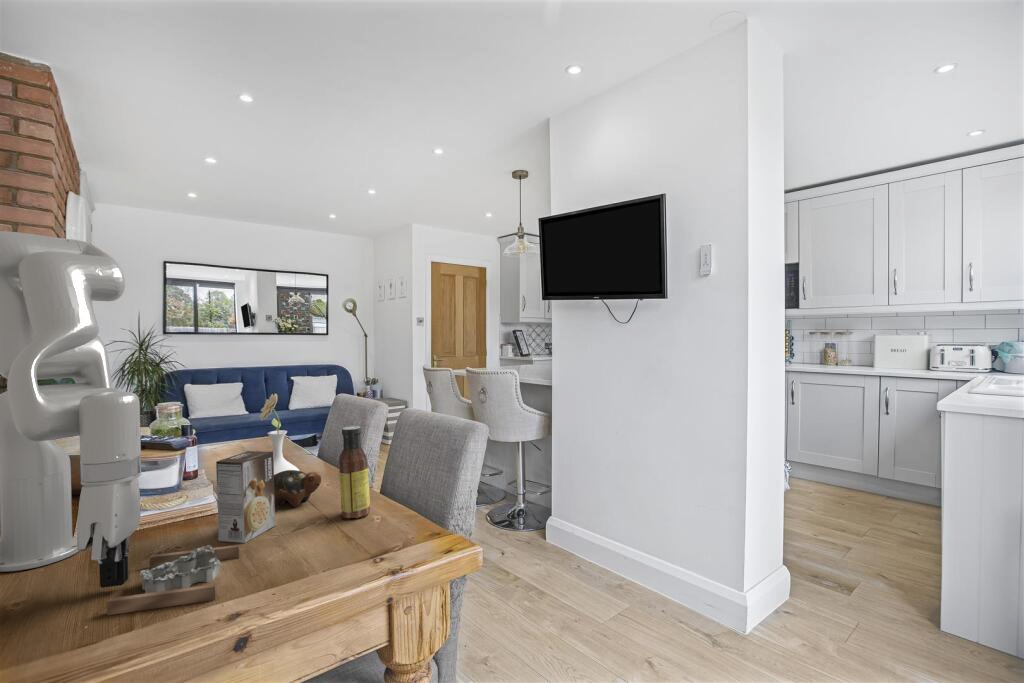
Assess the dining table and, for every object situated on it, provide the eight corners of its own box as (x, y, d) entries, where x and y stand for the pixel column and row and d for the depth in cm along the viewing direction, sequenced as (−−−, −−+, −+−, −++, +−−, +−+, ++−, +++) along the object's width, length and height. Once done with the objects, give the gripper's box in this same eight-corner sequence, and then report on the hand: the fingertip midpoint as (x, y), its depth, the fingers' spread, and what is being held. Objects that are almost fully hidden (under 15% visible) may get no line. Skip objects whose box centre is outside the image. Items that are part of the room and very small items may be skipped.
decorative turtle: (313, 510, 115) (313, 476, 115) (249, 510, 115) (248, 476, 115) (329, 496, 125) (329, 465, 125) (270, 497, 125) (269, 465, 125)
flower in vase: (259, 477, 142) (257, 390, 142) (302, 473, 145) (301, 388, 145) (250, 491, 130) (248, 396, 129) (297, 487, 133) (295, 394, 133)
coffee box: (250, 524, 107) (248, 450, 107) (276, 526, 106) (274, 451, 106) (216, 541, 98) (215, 460, 98) (245, 544, 97) (243, 462, 97)
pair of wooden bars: (107, 615, 72) (106, 601, 72) (152, 566, 88) (151, 555, 88) (215, 599, 76) (215, 586, 76) (240, 555, 92) (240, 544, 92)
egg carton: (214, 565, 89) (214, 542, 89) (222, 581, 83) (222, 556, 83) (139, 585, 82) (139, 560, 82) (143, 603, 76) (142, 577, 76)
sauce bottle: (373, 509, 115) (371, 424, 115) (366, 519, 109) (364, 429, 108) (344, 510, 115) (343, 424, 114) (335, 520, 109) (334, 430, 108)
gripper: (107, 460, 85) (109, 566, 85) (54, 485, 71) (58, 613, 71) (158, 457, 87) (160, 560, 88) (116, 480, 73) (119, 604, 73)
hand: (114, 583), depth 79 cm, fingers closed
